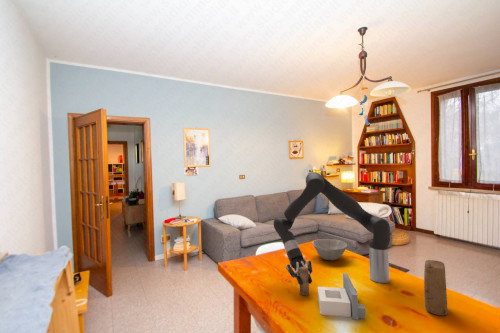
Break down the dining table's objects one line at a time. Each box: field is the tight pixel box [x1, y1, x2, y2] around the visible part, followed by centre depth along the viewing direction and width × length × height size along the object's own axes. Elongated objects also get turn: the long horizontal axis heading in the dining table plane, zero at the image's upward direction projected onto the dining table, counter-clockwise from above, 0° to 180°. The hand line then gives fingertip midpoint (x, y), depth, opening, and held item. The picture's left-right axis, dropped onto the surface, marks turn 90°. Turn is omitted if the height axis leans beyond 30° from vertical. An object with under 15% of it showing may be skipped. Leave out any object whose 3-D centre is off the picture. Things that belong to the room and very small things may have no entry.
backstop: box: [342, 272, 366, 321], centre depth 106 cm, size 20×5×10 cm, turn 169°
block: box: [423, 259, 448, 317], centre depth 102 cm, size 11×8×20 cm
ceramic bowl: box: [311, 238, 348, 261], centre depth 162 cm, size 22×23×10 cm
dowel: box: [299, 266, 310, 296], centre depth 118 cm, size 4×4×12 cm
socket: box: [317, 286, 352, 318], centre depth 106 cm, size 12×12×6 cm
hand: (306, 283), depth 116 cm, fingers closed on dowel, 4 cm apart
